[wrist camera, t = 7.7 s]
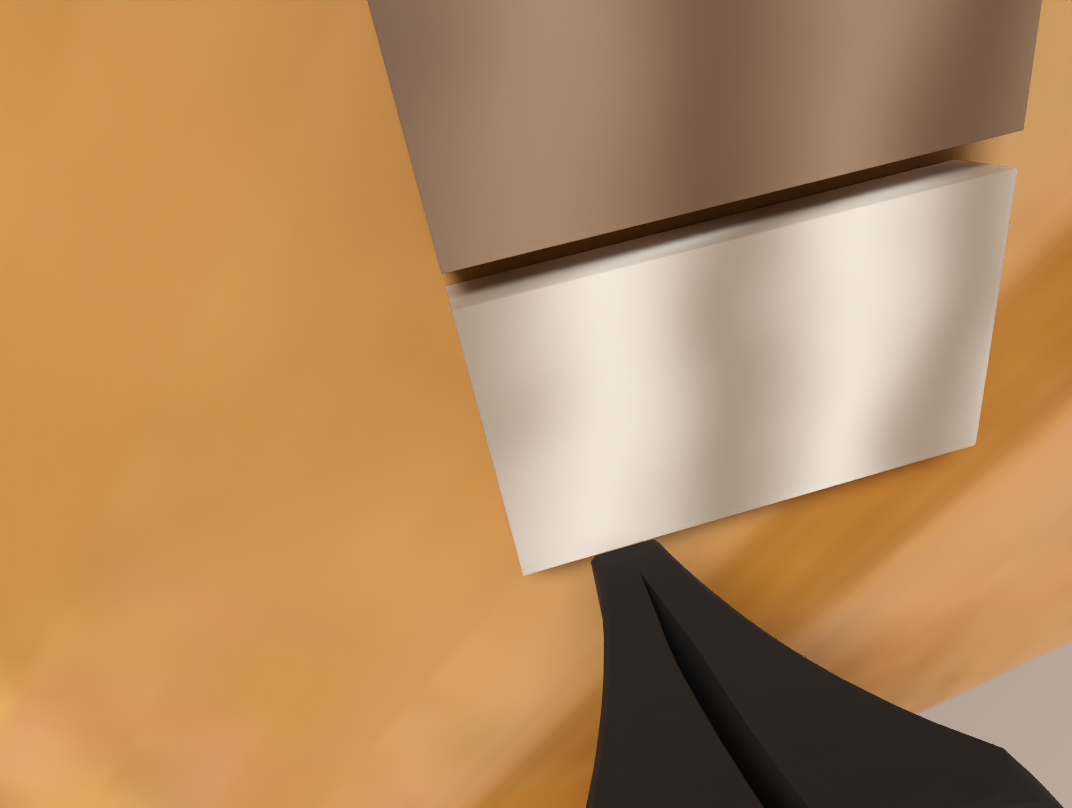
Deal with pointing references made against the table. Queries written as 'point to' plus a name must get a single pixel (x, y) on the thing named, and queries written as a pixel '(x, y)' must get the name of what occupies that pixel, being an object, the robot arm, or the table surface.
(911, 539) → the table surface
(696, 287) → the ash plank
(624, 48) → the walnut planks
